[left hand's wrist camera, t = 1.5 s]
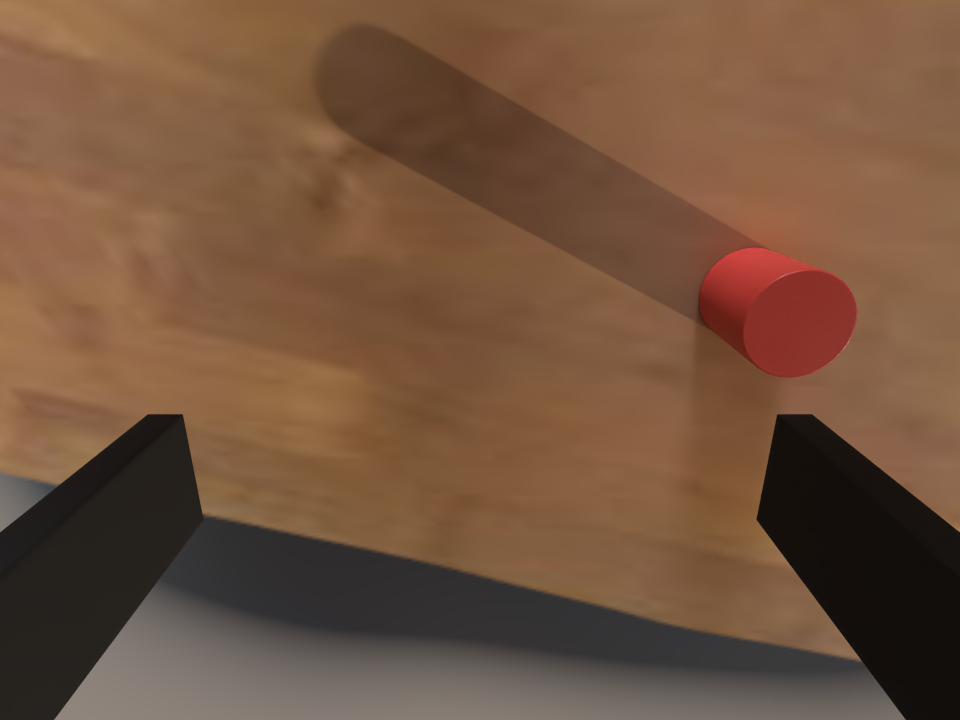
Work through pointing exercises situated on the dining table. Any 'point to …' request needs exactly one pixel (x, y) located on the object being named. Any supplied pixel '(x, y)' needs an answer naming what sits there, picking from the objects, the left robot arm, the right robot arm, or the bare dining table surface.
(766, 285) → the canister
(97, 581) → the left robot arm
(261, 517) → the dining table surface
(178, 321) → the dining table surface
